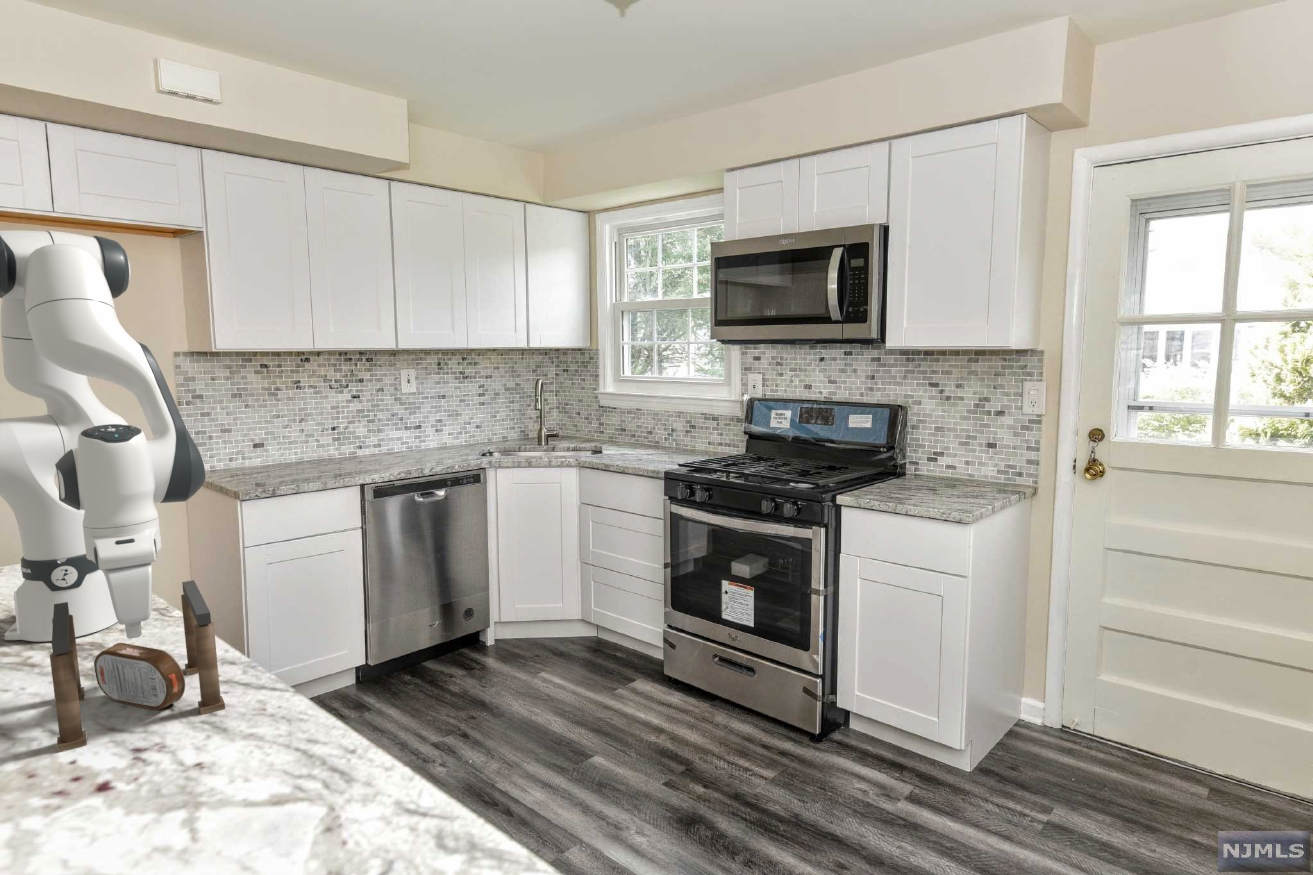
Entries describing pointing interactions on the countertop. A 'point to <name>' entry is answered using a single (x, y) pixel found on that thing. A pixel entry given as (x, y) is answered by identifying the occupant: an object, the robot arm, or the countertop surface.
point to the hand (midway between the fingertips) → (133, 634)
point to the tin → (139, 676)
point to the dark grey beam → (196, 603)
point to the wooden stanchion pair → (71, 692)
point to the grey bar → (60, 629)
